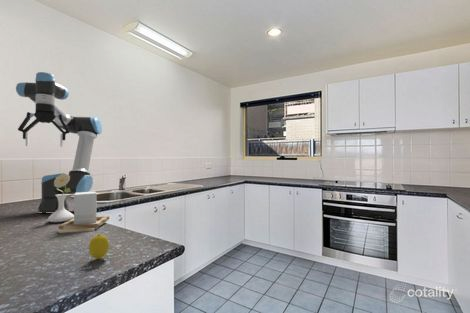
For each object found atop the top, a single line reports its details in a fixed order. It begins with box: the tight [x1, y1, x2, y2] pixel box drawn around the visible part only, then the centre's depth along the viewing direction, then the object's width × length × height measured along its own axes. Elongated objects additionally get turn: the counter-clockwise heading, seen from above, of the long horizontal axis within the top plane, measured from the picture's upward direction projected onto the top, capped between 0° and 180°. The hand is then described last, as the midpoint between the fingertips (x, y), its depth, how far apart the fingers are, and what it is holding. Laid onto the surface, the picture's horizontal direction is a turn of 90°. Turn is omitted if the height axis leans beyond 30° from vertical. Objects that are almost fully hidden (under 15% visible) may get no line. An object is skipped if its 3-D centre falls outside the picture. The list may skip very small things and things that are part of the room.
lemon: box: [88, 233, 110, 260], centre depth 76 cm, size 6×6×8 cm
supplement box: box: [73, 191, 97, 224], centre depth 115 cm, size 9×9×15 cm
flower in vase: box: [47, 172, 74, 223], centre depth 124 cm, size 13×11×25 cm
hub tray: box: [57, 215, 110, 234], centre depth 115 cm, size 20×16×2 cm
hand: (44, 146), depth 119 cm, fingers open, 13 cm apart
